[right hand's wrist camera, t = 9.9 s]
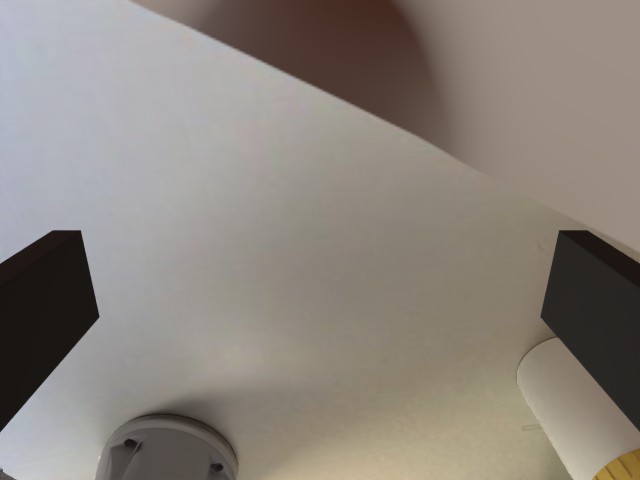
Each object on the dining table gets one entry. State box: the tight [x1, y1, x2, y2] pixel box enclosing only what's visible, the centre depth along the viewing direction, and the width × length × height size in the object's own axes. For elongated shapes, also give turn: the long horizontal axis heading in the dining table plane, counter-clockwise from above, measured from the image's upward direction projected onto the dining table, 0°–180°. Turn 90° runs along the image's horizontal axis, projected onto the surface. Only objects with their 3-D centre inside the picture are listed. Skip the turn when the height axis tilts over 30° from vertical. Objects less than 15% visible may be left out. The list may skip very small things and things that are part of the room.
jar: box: [517, 337, 640, 480], centre depth 39 cm, size 9×9×15 cm
